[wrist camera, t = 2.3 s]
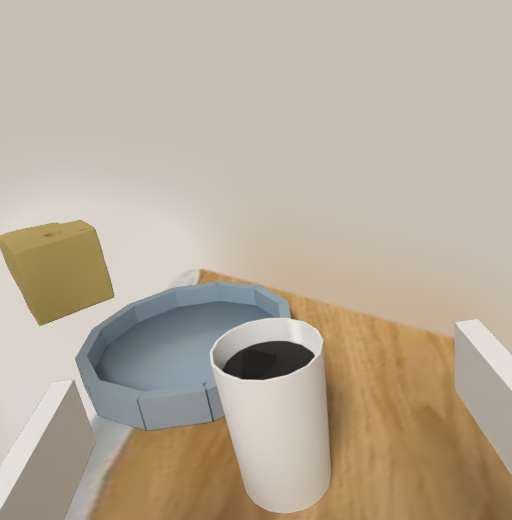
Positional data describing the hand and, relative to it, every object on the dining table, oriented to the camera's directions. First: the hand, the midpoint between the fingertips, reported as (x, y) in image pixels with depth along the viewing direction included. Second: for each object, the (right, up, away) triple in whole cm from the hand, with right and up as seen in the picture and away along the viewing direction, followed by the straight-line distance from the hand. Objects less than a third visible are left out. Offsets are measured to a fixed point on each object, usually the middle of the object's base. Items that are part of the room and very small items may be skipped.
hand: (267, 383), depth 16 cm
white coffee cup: (+2, -10, +15) cm, 18 cm away
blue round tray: (-7, -5, +30) cm, 31 cm away
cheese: (-25, -1, +47) cm, 54 cm away
